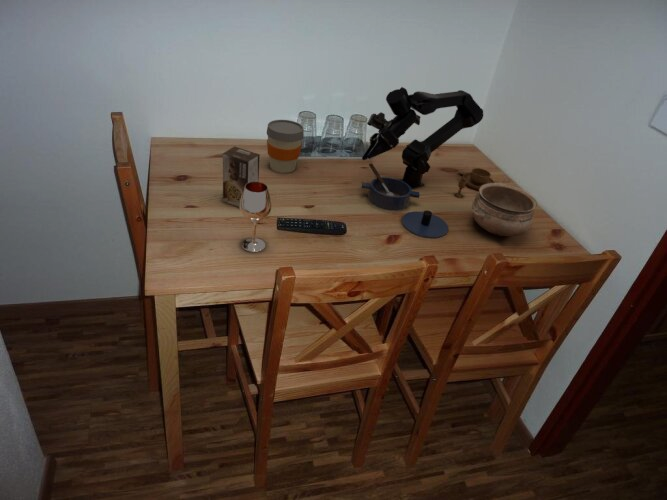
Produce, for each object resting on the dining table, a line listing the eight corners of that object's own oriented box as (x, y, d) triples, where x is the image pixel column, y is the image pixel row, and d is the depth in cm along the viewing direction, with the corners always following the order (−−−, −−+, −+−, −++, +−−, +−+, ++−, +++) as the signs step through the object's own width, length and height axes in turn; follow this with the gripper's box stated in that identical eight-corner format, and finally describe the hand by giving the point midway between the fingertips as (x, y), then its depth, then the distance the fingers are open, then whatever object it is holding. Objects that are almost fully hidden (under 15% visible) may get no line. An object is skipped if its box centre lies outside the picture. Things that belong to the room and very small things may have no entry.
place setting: (504, 195, 183) (510, 180, 180) (457, 198, 177) (462, 183, 173) (478, 172, 197) (482, 158, 193) (433, 175, 190) (437, 160, 186)
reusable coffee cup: (273, 177, 172) (276, 135, 163) (259, 161, 181) (261, 120, 172) (306, 172, 178) (310, 132, 169) (291, 157, 186) (294, 118, 178)
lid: (401, 210, 164) (404, 197, 162) (446, 218, 164) (450, 205, 161) (400, 234, 152) (404, 220, 150) (448, 243, 152) (453, 229, 149)
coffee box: (258, 202, 157) (261, 154, 148) (247, 210, 152) (248, 161, 143) (233, 193, 160) (234, 145, 151) (221, 201, 155) (221, 152, 146)
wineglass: (239, 235, 141) (241, 178, 131) (269, 237, 142) (272, 180, 132) (237, 253, 135) (238, 193, 124) (268, 254, 136) (272, 196, 125)
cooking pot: (484, 253, 150) (497, 218, 143) (446, 219, 163) (456, 186, 156) (545, 240, 161) (559, 207, 154) (505, 210, 174) (516, 178, 167)
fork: (399, 204, 166) (404, 182, 162) (393, 206, 165) (398, 184, 160) (369, 184, 176) (373, 162, 171) (363, 185, 174) (367, 163, 170)
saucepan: (361, 187, 174) (364, 172, 171) (416, 196, 174) (419, 182, 171) (357, 206, 163) (360, 191, 160) (416, 216, 163) (420, 201, 159)
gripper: (377, 109, 170) (343, 142, 170) (389, 100, 152) (352, 137, 152) (399, 134, 172) (366, 166, 172) (414, 128, 154) (377, 164, 154)
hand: (365, 158), depth 163 cm, fingers open, 9 cm apart
